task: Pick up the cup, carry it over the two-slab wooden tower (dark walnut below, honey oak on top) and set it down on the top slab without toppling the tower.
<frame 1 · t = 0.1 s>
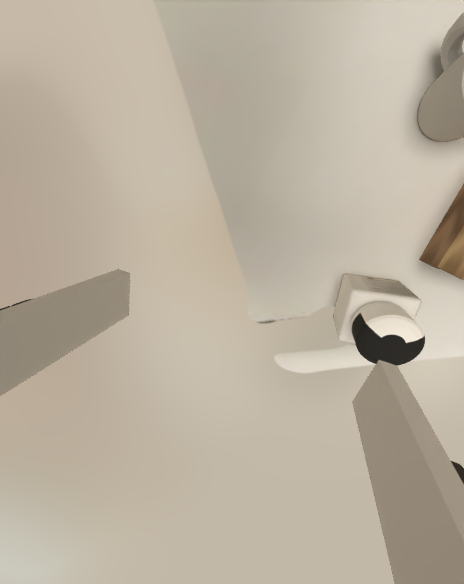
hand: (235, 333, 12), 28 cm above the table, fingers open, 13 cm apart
cup: (448, 94, 26), on the table
container: (363, 299, 36), on the table
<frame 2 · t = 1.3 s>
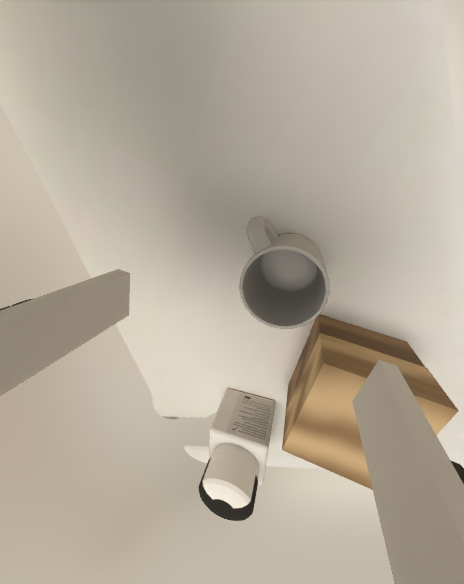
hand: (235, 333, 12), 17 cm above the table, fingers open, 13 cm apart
slab upper: (346, 392, 25), point 5 cm above the table, touching slab lower
slab lower: (340, 364, 29), on the table, touching slab upper
cup: (283, 253, 26), on the table
container: (249, 410, 37), on the table
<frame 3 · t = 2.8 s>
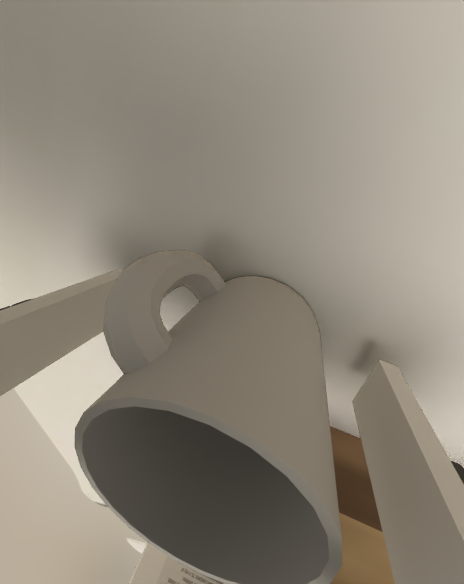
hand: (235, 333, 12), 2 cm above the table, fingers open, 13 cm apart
slab lower: (345, 492, 17), on the table, touching slab upper
cup: (245, 309, 14), on the table
container: (206, 519, 24), on the table
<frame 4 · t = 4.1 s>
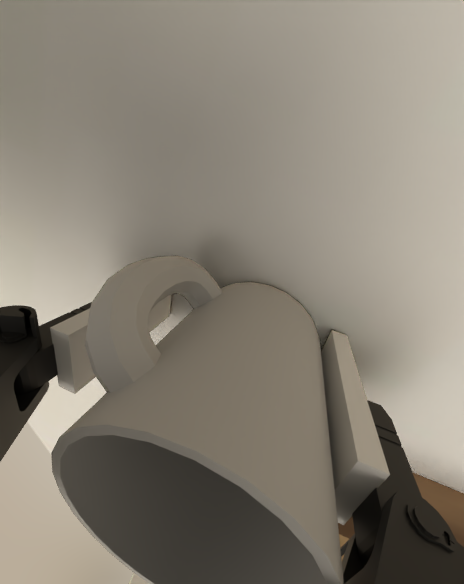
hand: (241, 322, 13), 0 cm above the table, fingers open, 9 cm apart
slab lower: (347, 505, 16), on the table, touching slab upper
cup: (242, 316, 13), on the table, touching gripper
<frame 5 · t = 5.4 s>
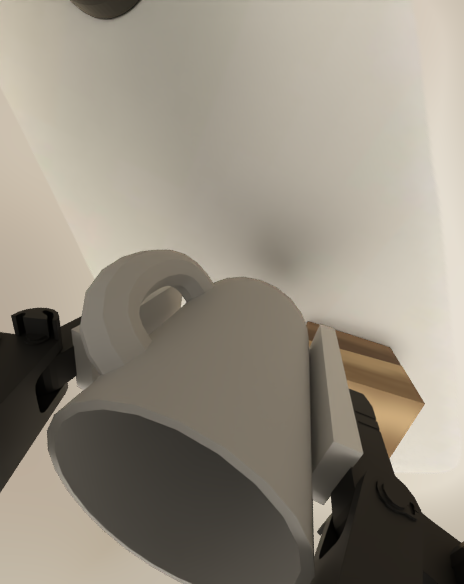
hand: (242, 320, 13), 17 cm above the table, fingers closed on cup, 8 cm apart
slab upper: (333, 392, 27), point 5 cm above the table, touching slab lower
slab lower: (329, 368, 31), on the table, touching slab upper
cup: (235, 310, 14), point 16 cm above the table, touching gripper
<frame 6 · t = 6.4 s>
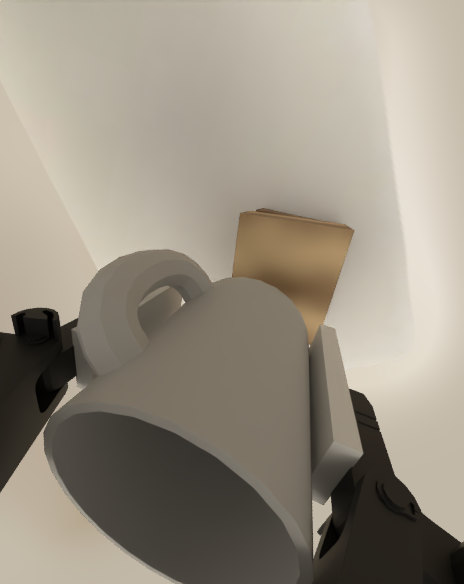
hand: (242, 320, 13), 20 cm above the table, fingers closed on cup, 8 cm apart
slab upper: (284, 269, 27), point 5 cm above the table, touching slab lower
cup: (234, 311, 13), point 20 cm above the table, touching gripper
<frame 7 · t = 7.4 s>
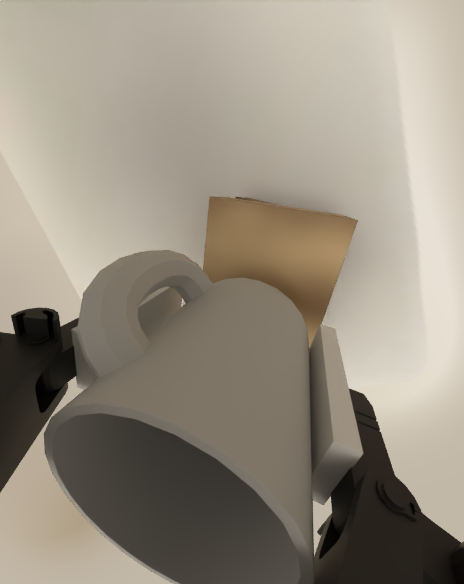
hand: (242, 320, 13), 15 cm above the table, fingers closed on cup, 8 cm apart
slab upper: (270, 271, 22), point 5 cm above the table, touching slab lower
cup: (234, 311, 13), point 14 cm above the table, touching gripper
when the fingers open (12 cm above the table, at t = 8.8 s): cup drops 1 cm, resting on slab upper.
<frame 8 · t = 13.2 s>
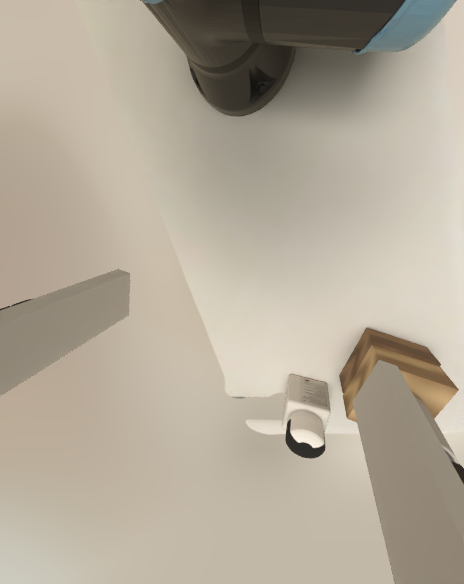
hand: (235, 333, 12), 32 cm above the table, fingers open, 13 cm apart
slab upper: (386, 382, 39), point 5 cm above the table, touching cup, slab lower
slab lower: (379, 361, 43), on the table, touching slab upper
cup: (392, 401, 34), point 10 cm above the table, touching slab upper
container: (305, 390, 50), on the table
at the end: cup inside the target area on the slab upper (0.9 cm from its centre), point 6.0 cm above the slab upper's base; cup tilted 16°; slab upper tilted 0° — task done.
